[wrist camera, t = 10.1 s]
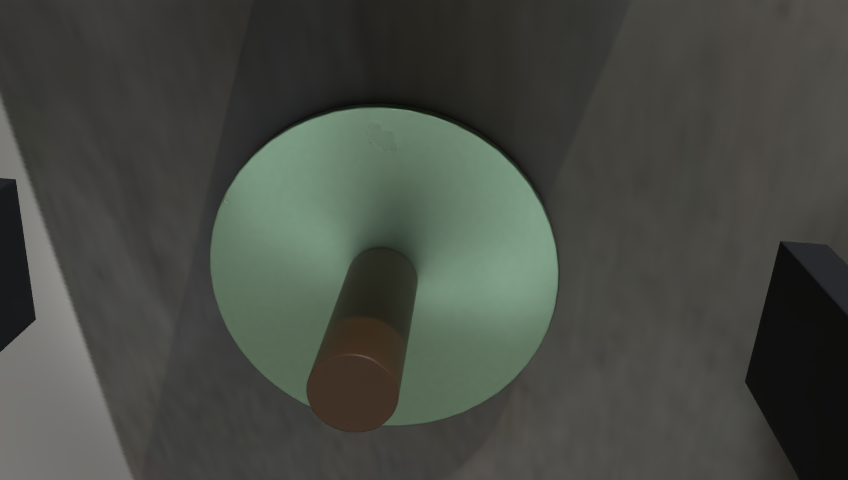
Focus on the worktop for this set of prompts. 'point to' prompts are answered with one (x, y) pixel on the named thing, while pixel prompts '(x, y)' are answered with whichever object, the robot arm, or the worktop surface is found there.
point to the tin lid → (384, 265)
